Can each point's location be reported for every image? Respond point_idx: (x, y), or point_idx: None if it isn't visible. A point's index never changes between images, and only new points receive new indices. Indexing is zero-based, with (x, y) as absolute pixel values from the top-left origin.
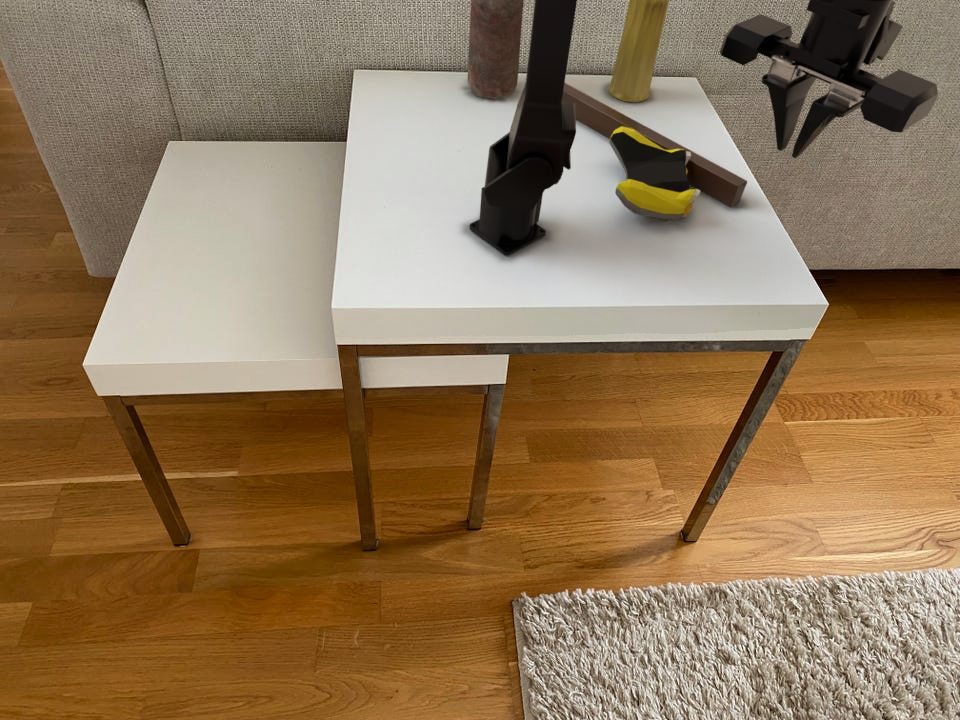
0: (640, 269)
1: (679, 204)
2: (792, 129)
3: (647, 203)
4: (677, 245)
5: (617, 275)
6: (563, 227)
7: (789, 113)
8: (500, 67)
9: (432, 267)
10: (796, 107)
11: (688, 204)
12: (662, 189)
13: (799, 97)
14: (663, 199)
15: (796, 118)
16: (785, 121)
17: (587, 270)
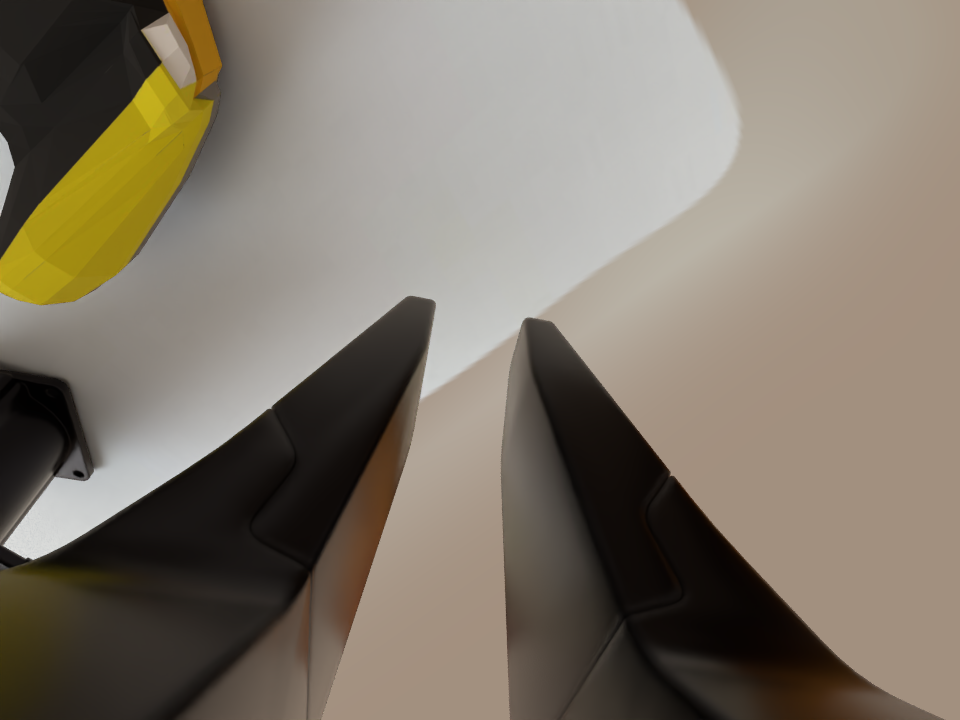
0: (306, 347)
1: (181, 133)
2: (411, 401)
3: (126, 254)
4: (305, 196)
5: (285, 393)
6: (54, 328)
7: (341, 632)
8: None
9: (56, 545)
10: (336, 594)
11: (196, 84)
12: (84, 157)
13: (292, 698)
14: (137, 199)
15: (386, 453)
16: (358, 592)
17: (229, 415)
